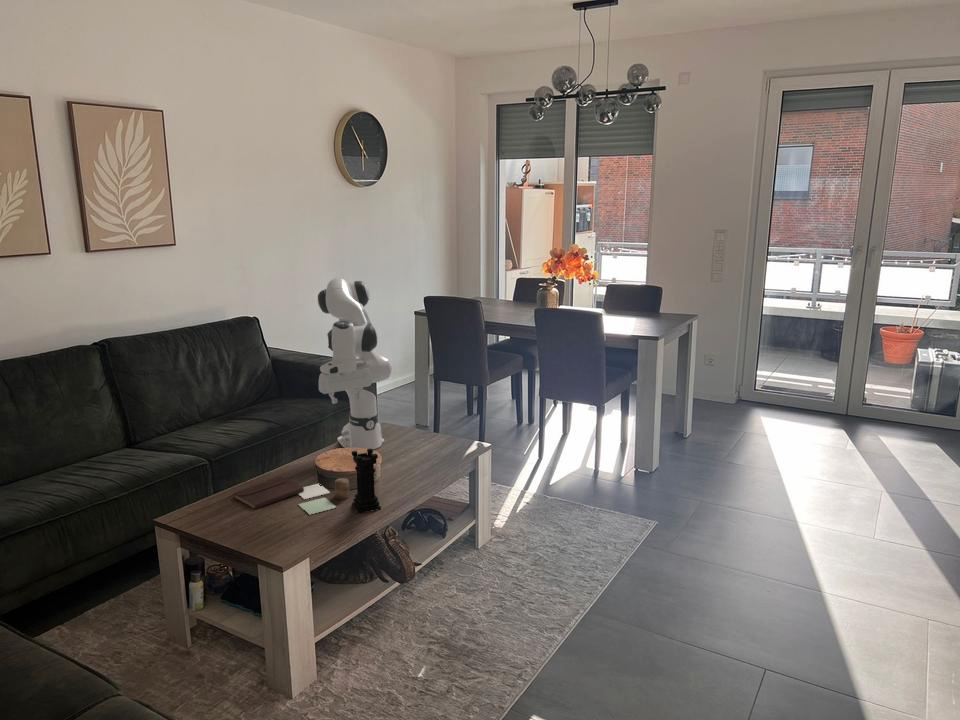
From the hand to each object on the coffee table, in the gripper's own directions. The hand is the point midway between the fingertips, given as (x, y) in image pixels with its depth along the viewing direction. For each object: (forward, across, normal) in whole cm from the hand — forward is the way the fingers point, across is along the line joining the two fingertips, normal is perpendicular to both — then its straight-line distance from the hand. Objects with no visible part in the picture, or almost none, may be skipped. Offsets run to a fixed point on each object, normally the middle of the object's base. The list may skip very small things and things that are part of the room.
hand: (346, 401), depth 264 cm
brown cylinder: (+31, +9, +13) cm, 35 cm away
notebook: (+31, +30, -4) cm, 44 cm away
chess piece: (+32, +6, +26) cm, 41 cm away
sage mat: (+31, +20, +16) cm, 40 cm away
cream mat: (+31, +17, +3) cm, 36 cm away
